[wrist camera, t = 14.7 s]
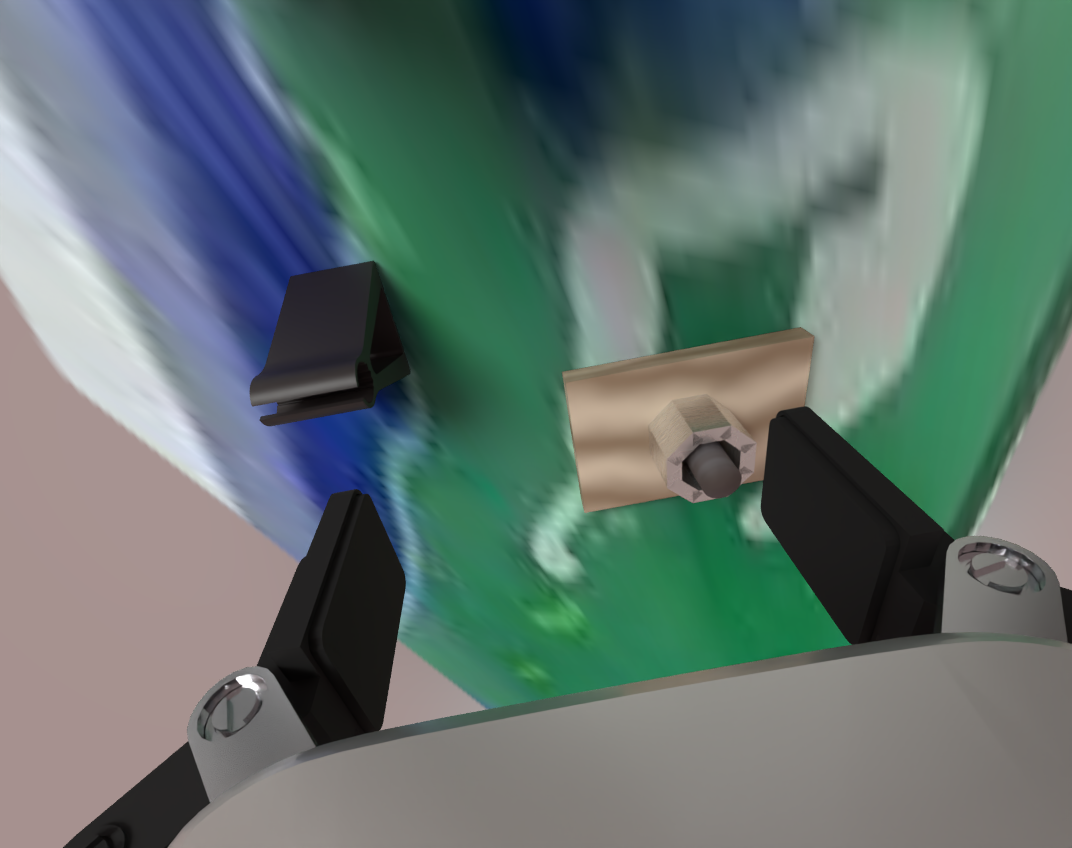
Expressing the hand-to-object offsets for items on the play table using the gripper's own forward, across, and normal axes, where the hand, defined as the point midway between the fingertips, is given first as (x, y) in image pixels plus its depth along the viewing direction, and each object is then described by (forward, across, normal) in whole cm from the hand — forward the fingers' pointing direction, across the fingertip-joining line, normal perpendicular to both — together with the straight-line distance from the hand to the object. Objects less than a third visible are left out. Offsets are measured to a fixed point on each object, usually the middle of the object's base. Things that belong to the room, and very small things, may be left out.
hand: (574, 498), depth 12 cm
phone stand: (+29, +13, +4) cm, 32 cm away
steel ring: (+26, -12, +18) cm, 34 cm away
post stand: (+28, -12, +18) cm, 36 cm away
